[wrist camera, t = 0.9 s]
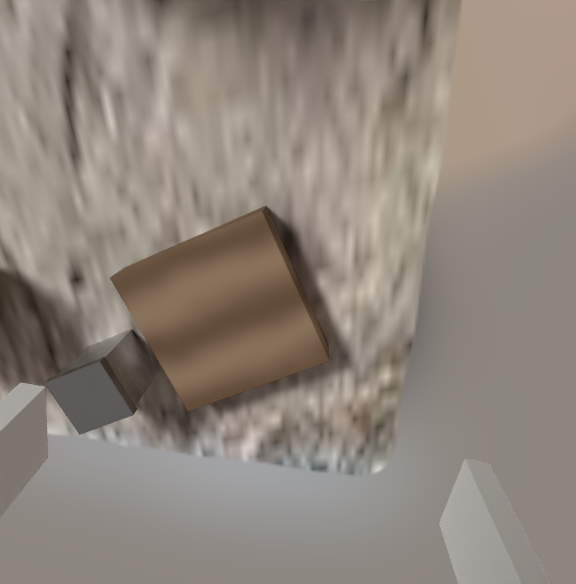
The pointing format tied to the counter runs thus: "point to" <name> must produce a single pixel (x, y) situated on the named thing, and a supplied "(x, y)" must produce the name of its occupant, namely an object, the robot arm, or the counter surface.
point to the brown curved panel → (224, 311)
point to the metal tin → (103, 382)
